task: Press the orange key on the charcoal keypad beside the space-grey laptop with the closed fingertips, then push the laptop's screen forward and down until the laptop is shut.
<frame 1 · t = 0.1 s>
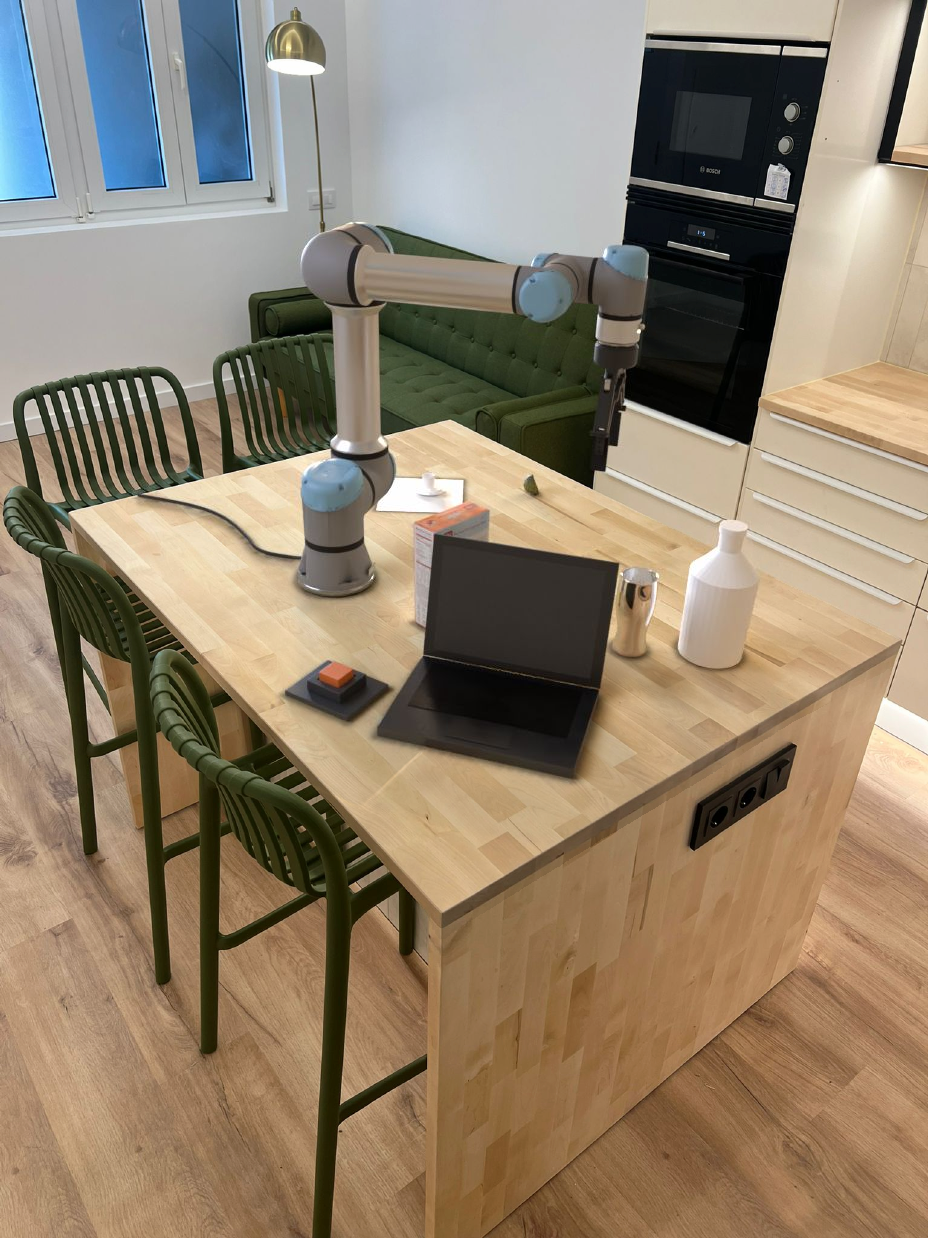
hand: (604, 457, 174), 28 cm above the counter, tool pointing down, fingers open, 13 cm apart
supplement bottle: (534, 626, 176), on the counter
cracker box: (450, 616, 178), on the counter
bottle: (709, 652, 170), on the counter
lime: (531, 494, 229), on the counter
key: (336, 674, 154), point 3 cm above the counter, slide at 0.1 cm
beer glass: (629, 649, 170), on the counter
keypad: (337, 692, 155), on the counter
teacup and saucer: (421, 495, 226), on the counter
laptop screen: (517, 610, 156), point 12 cm above the counter, hinge at 104.0°
laptop: (491, 716, 151), on the counter
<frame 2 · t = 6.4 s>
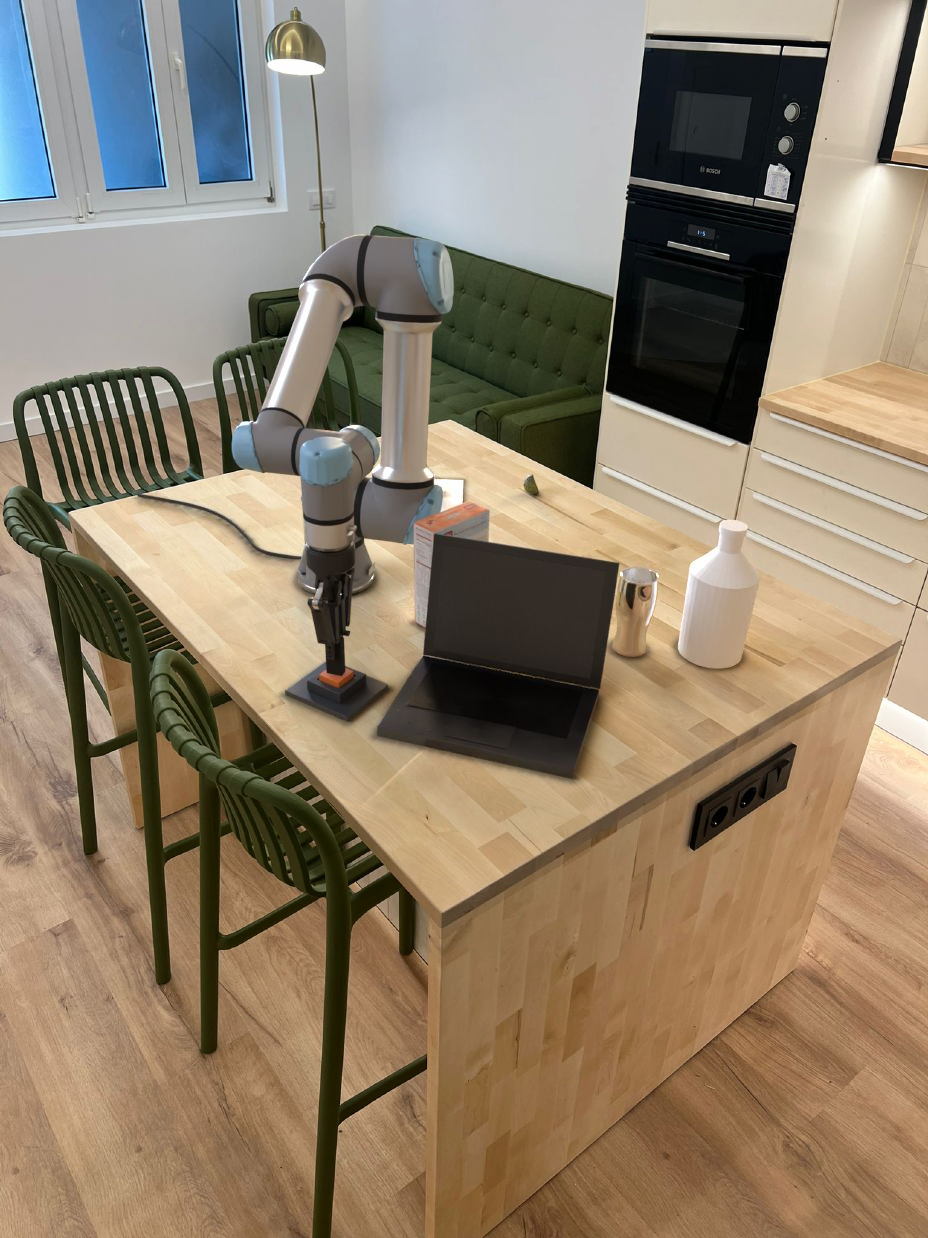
hand: (336, 672, 153), 4 cm above the counter, tool pointing down, fingers closed
key: (336, 677, 154), point 3 cm above the counter, slide at -0.4 cm, touching gripper
everything else where it was.
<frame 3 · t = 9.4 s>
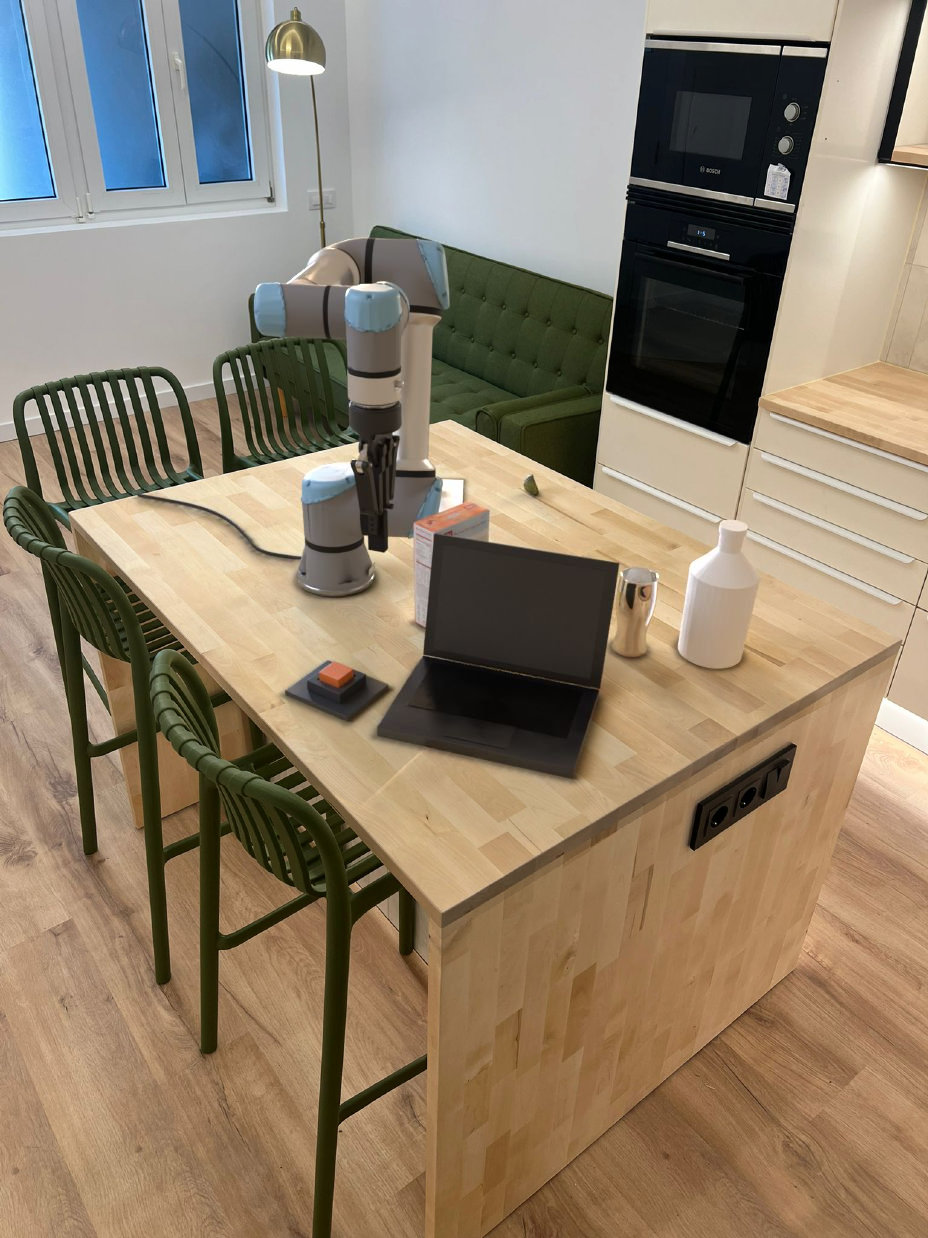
hand: (378, 549, 145), 25 cm above the counter, tool pointing down, fingers closed
key: (336, 674, 154), point 3 cm above the counter, slide at 0.1 cm
everything else where it was.
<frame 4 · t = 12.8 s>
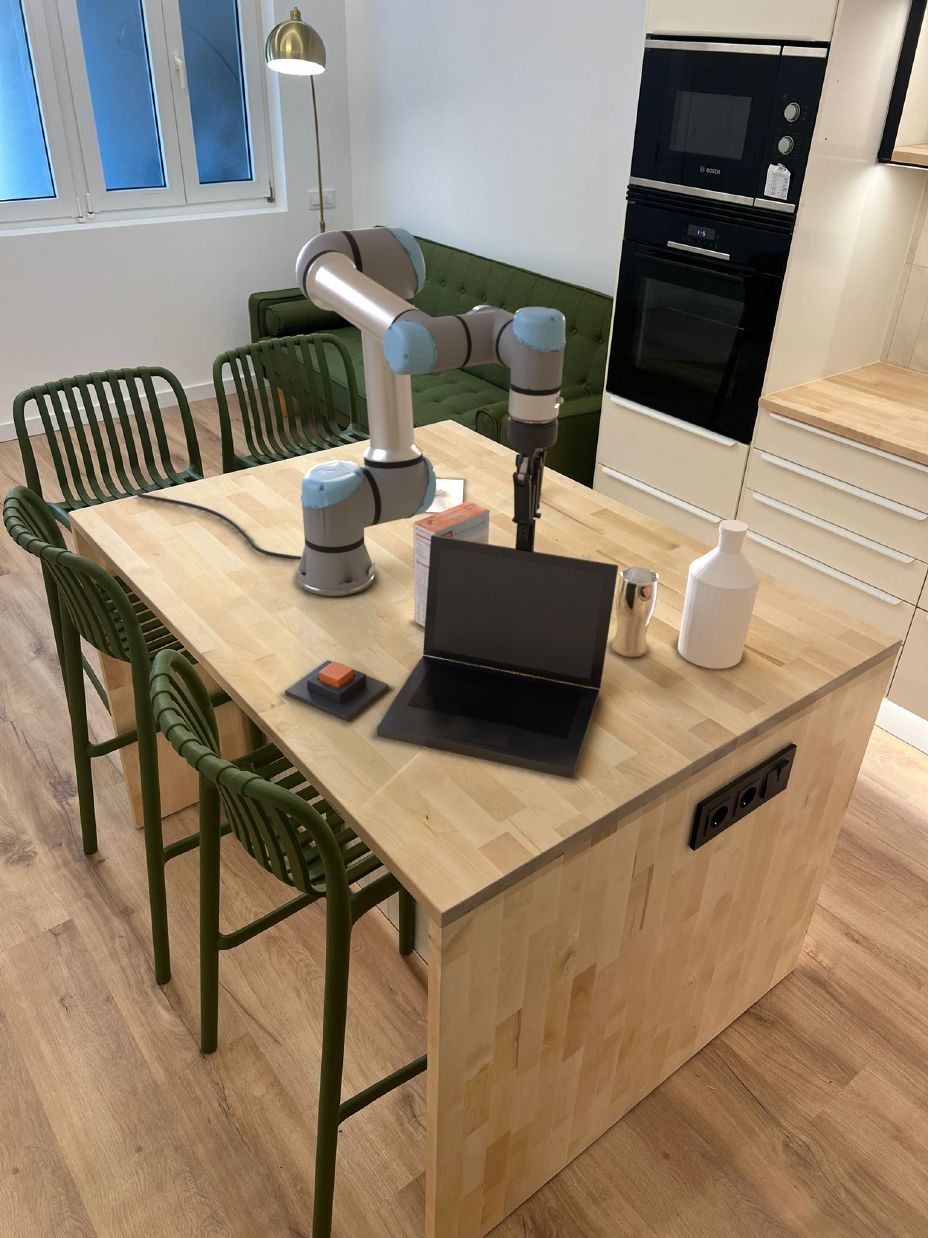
hand: (524, 556, 153), 21 cm above the counter, tool pointing down, fingers closed
laptop screen: (516, 612, 155), point 12 cm above the counter, hinge at 99.7°, touching gripper
everything else where it was.
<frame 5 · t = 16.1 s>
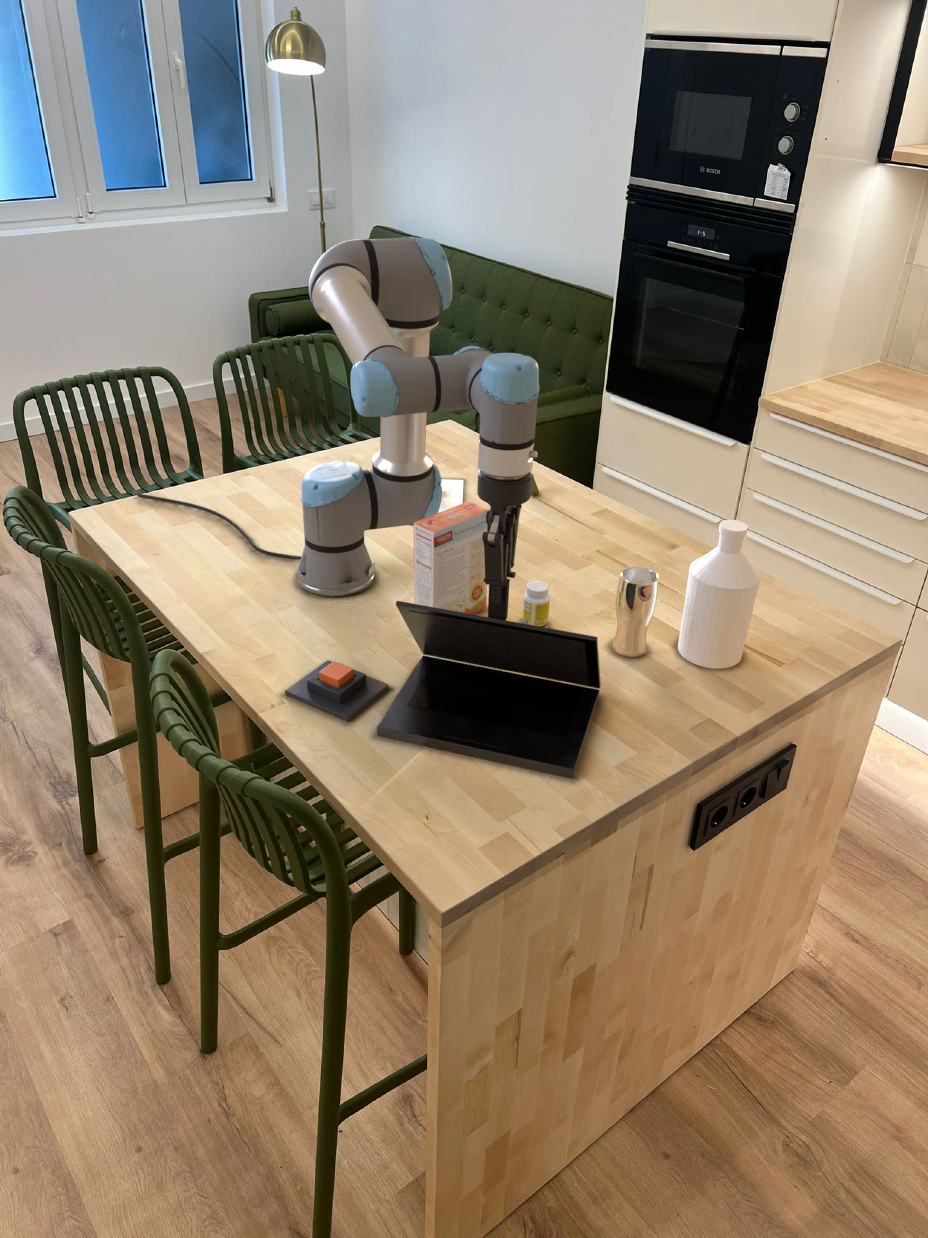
hand: (497, 617, 141), 19 cm above the counter, tool pointing down, fingers closed
laptop screen: (502, 646, 149), point 11 cm above the counter, hinge at 52.7°, touching gripper
everything else where it was.
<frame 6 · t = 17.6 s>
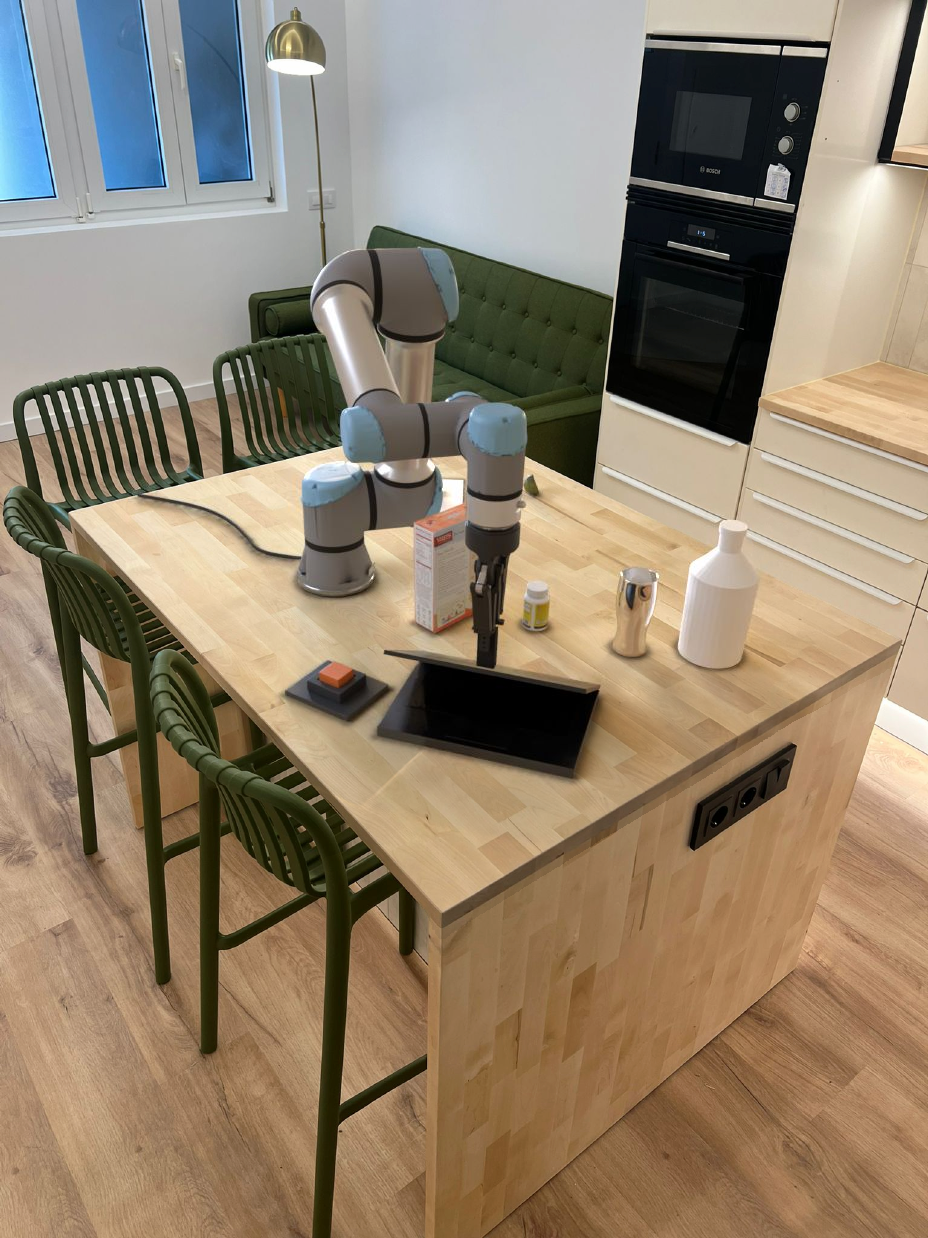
hand: (486, 664, 139), 13 cm above the counter, tool pointing down, fingers closed
laptop screen: (496, 670, 148), point 8 cm above the counter, hinge at 31.6°
everything else where it was.
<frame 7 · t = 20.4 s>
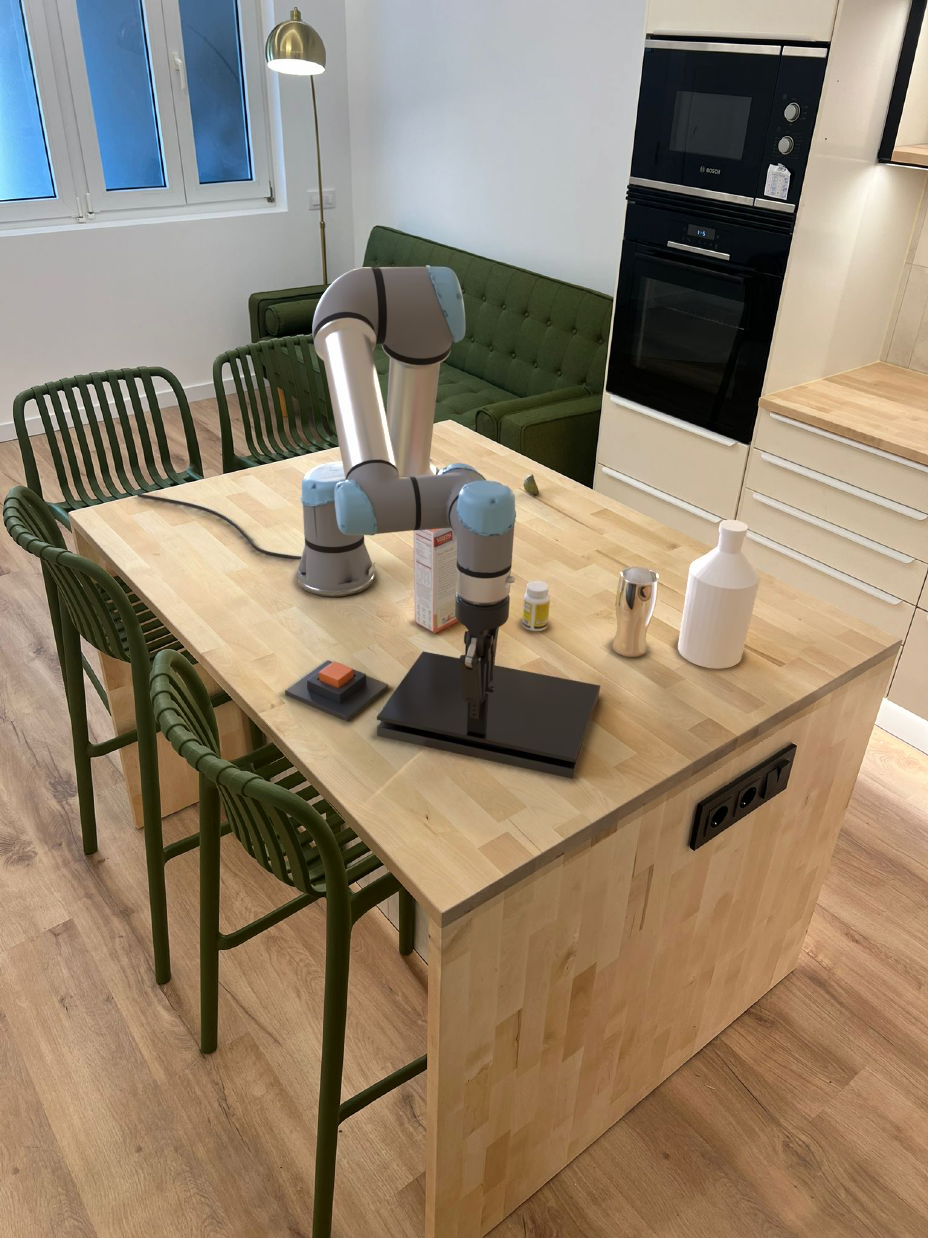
hand: (476, 730, 141), 4 cm above the counter, tool pointing down, fingers closed
laptop screen: (492, 702, 149), point 3 cm above the counter, hinge at 3.1°, touching gripper, laptop
everything else where it was.
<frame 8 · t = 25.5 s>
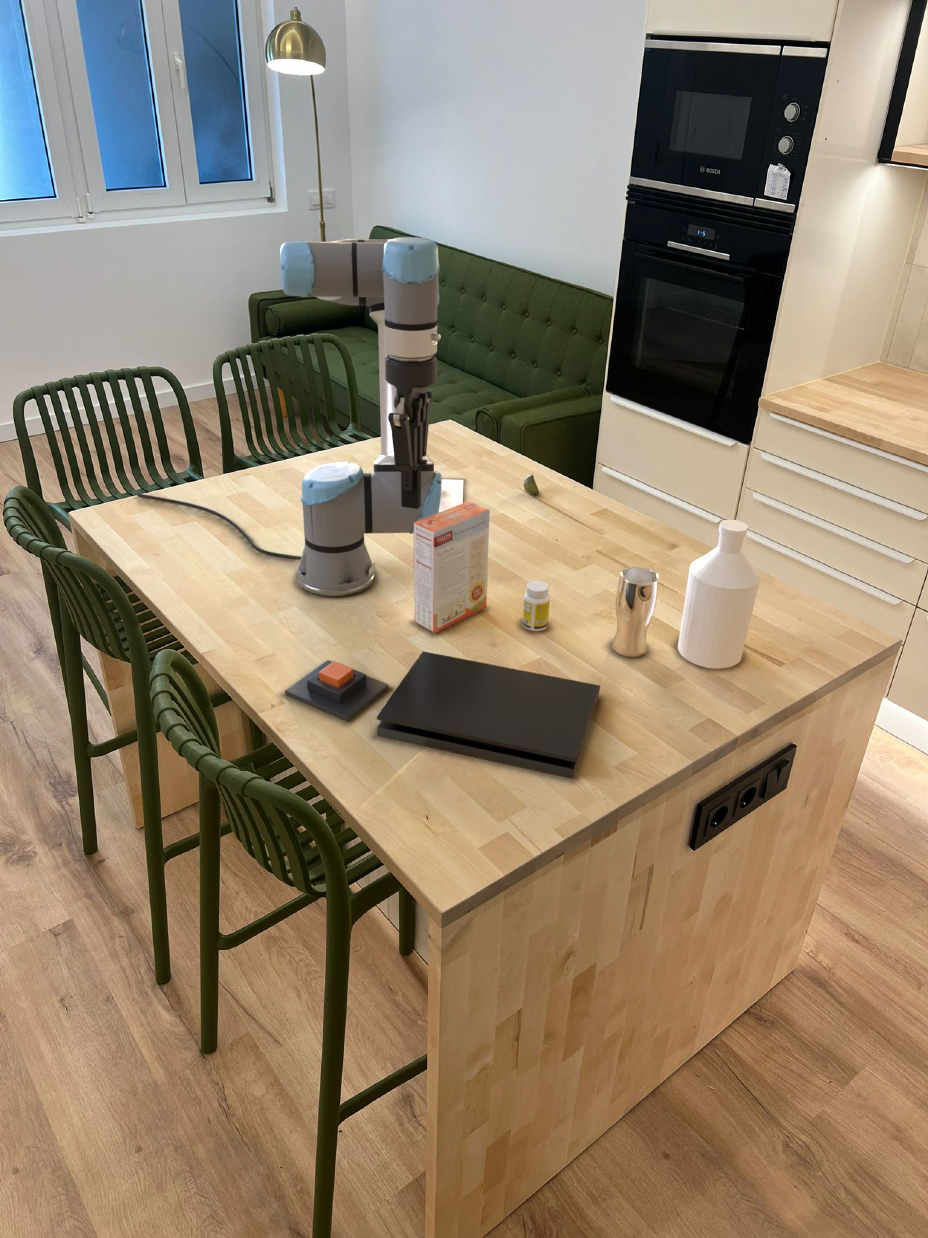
hand: (411, 505, 147), 30 cm above the counter, tool pointing down, fingers closed
laptop screen: (492, 702, 149), point 3 cm above the counter, hinge at 3.3°, touching laptop
everything else where it was.
at the end: key pushed in 1.0 cm at the most during the clip, back to where it started at the end; key slide at 0.1 cm; laptop screen at +3° (first picture: +104°) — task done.
